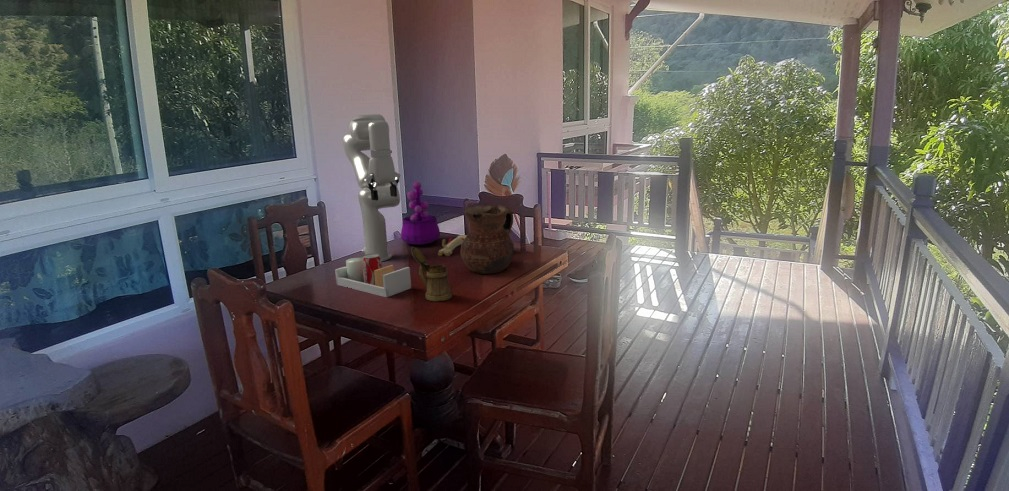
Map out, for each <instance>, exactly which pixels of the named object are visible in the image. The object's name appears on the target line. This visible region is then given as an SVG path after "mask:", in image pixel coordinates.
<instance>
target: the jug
mask: <svg viewBox="0 0 1009 491" xmlns="http://www.w3.org/2000/svg"><path fill="white" fill-rule="evenodd" d="M463 213H464V214H465V216H466V218H467V220H468V222H469V229H470V230H469V232H468V233H467V236H466V238H465V239H464V241H463V243H462V245H460V257H461V260H462V262H463V264H465V267H466V268H468V269H469V270H470V271H472V272H474V273H476V274H483V275H488V274H489V275H490V274H491V275H492V274H496V273H500V272H503V271H504V270H505V269H507V268H508V267H509V265H510V263H511V261H512V260H513V255H514V250H515V247H514V246H515V245H514V241H513V240H512V239H511V236H510V233H511V229H512V227H513V224H514V214H513V210H512V209H511V208H510V207H508V206H507V205H506V206H505V205H501V204H498V205H489V204H487V205H470V206H468V207H465V208H464V210H463Z"/></svg>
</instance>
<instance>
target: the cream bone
mask: <svg viewBox="0 0 1009 491" xmlns="http://www.w3.org/2000/svg"><path fill="white" fill-rule="evenodd" d="M467 235H468V234H467ZM467 235H466V234H459V235H458V236H456V238H454V236H452V237H450V238H448V242H447V240H446V238H443V239H442V240H441V246H442V247H443V248H441V249H440V250H438V252H437V255H438V257H442V256H443V255H444V256H445V257H450V256H451V254H453V250H454V249H455V248H457V247H458V246H461V245H462V243H463V241H464V239H465V238H466V236H467ZM453 238H454V239H453Z"/></svg>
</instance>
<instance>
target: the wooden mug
mask: <svg viewBox="0 0 1009 491" xmlns="http://www.w3.org/2000/svg"><path fill="white" fill-rule="evenodd" d="M411 256H412V257H413V258H414V260H415V261H416V262H417V263H418V264H420V266H419V268H418V274H419V277H420V279H421V281H422V283H423V284H424V286H425V289H426V290H425V291H426V292H425V299H426V300H427V301H430V302H445V301H448V300H450V299H451V298H453V293H452V291H451V287H450V282H449V277H448V274H449V273H448V270H447V267H446V265H445V264H434V265H432V266H431V265H430V264H429V263H427V262H426V256H425V254H423V252H422V251H421V250H420V249H418V248H417V247H415V246H411ZM425 272H426V276H425Z"/></svg>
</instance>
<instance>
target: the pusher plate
mask: <svg viewBox="0 0 1009 491" xmlns="http://www.w3.org/2000/svg"><path fill="white" fill-rule="evenodd" d="M394 268H395V267H394V264H390V265H387V266H382V268H380V269H377V270H374V275H375V286H380V287H384V286H383V275H385V274H388V273H391V272H394V271H395V269H394Z"/></svg>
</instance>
